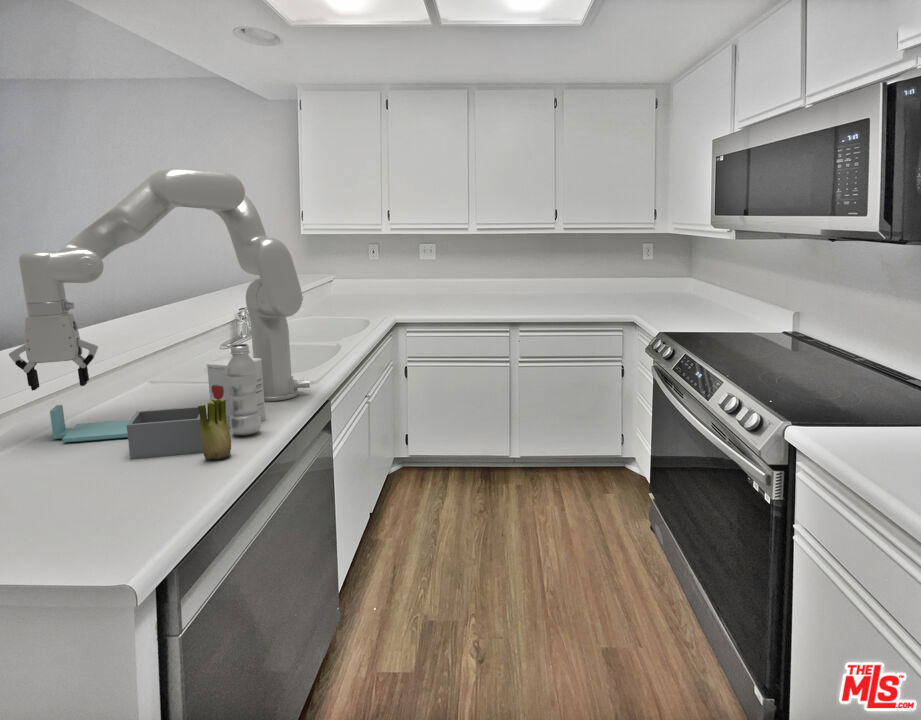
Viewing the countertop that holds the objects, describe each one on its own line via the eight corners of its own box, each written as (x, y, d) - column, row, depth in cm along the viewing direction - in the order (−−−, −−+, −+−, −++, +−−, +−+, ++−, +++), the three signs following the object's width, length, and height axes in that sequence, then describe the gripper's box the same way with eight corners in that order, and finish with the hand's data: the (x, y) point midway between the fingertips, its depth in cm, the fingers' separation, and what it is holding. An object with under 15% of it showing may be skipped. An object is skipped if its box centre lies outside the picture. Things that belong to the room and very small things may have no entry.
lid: (145, 425, 170) (142, 395, 168) (136, 439, 159) (132, 408, 157) (63, 431, 166) (59, 401, 164) (47, 447, 154) (43, 415, 153)
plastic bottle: (229, 432, 162) (221, 344, 158) (260, 428, 164) (253, 341, 160) (232, 440, 156) (224, 349, 152) (264, 436, 158) (257, 346, 154)
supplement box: (210, 426, 166) (204, 363, 164) (235, 416, 175) (230, 355, 172) (243, 430, 163) (238, 365, 160) (267, 419, 172) (262, 357, 169)
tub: (208, 436, 159) (205, 406, 157) (203, 452, 148) (200, 419, 147) (140, 442, 155) (136, 411, 154) (130, 458, 145) (126, 425, 143)
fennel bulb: (203, 463, 141) (197, 404, 139) (201, 456, 146) (195, 398, 143) (234, 459, 144) (229, 401, 141) (231, 452, 148) (226, 395, 146)
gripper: (95, 304, 160) (106, 379, 164) (8, 310, 156) (21, 386, 160) (87, 308, 153) (98, 387, 157) (-4, 314, 149) (10, 394, 153)
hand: (59, 386), depth 158 cm, fingers open, 9 cm apart
